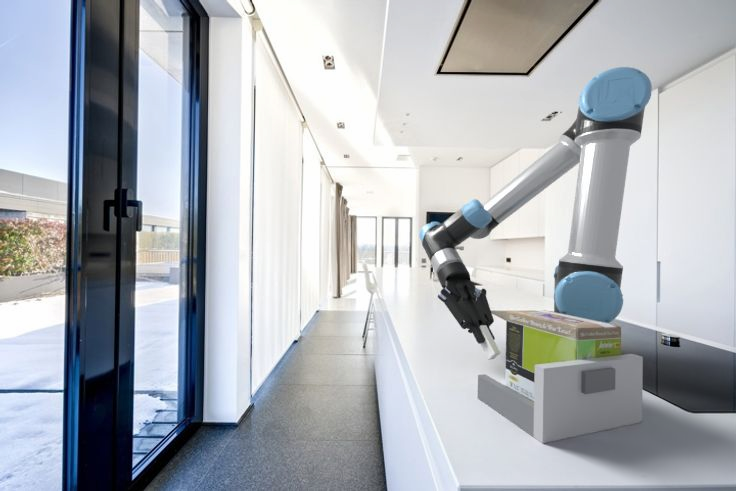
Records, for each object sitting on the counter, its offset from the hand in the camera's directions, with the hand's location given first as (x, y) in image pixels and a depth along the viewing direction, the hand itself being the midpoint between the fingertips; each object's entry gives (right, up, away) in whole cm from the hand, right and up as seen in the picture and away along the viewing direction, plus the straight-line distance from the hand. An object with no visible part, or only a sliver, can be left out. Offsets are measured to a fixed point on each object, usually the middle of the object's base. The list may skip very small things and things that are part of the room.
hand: (494, 356), depth 65 cm
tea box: (+7, -4, -10) cm, 13 cm away
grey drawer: (+5, -4, -13) cm, 14 cm away
